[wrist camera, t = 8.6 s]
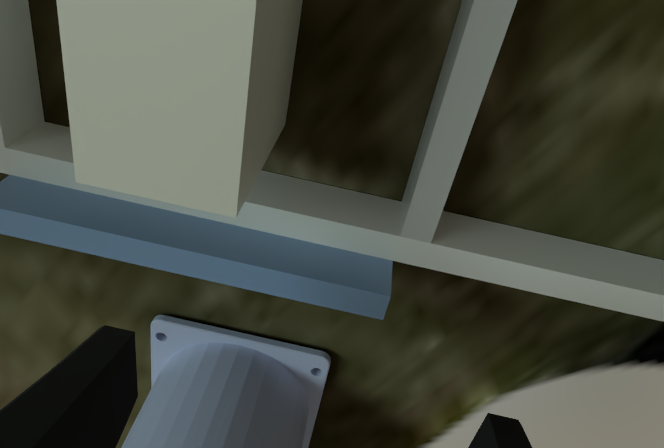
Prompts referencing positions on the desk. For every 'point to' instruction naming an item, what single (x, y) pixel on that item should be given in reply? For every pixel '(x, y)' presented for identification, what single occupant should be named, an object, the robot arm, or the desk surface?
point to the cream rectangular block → (177, 94)
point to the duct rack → (308, 206)
